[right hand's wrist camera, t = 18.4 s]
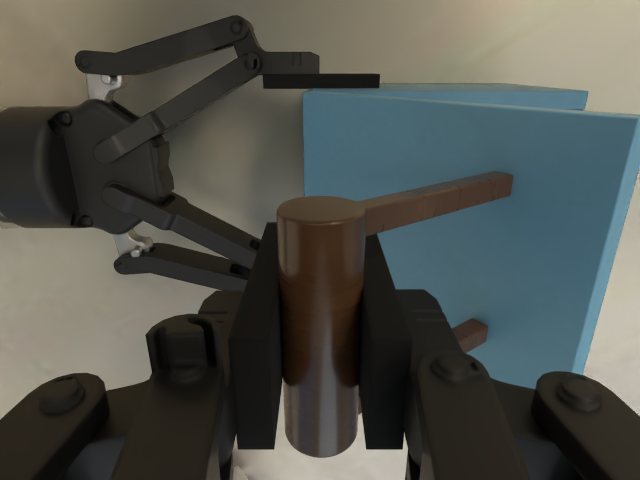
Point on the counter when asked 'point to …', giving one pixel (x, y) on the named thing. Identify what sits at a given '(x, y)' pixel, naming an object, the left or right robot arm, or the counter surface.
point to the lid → (447, 238)
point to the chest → (478, 94)
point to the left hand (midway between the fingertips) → (372, 168)
